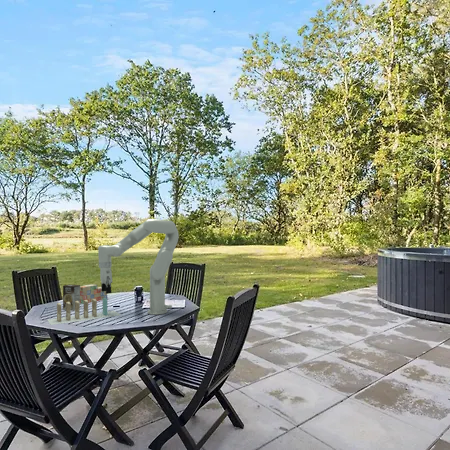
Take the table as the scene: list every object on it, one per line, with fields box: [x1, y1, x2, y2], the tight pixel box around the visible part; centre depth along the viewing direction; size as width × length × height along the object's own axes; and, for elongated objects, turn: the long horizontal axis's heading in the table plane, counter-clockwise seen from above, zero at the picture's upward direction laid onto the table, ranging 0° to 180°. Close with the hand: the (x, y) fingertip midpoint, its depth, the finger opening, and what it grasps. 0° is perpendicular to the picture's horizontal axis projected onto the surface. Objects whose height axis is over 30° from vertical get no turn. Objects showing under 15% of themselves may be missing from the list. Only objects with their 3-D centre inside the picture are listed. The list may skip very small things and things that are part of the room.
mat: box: [47, 310, 121, 326], centre depth 220 cm, size 40×14×1 cm, turn 124°
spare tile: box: [102, 298, 108, 315], centre depth 226 cm, size 2×5×10 cm, turn 34°
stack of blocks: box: [80, 284, 108, 305], centre depth 270 cm, size 21×6×12 cm, turn 148°
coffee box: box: [62, 284, 81, 311], centre depth 243 cm, size 9×6×16 cm
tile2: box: [91, 299, 98, 317], centre depth 223 cm, size 2×5×10 cm, turn 34°
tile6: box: [56, 302, 62, 322], centre depth 212 cm, size 2×5×10 cm, turn 34°
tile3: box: [83, 300, 89, 318], centre depth 220 cm, size 2×5×10 cm, turn 34°
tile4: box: [74, 301, 81, 319], centre depth 217 cm, size 2×5×10 cm, turn 34°
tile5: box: [65, 302, 72, 321], centre depth 214 cm, size 2×5×10 cm, turn 34°
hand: (106, 292), depth 227 cm, fingers open, 9 cm apart
